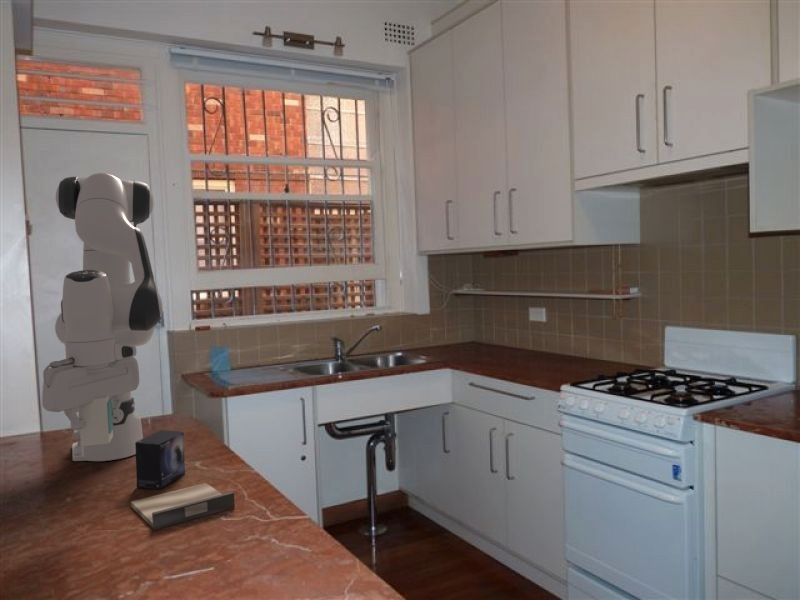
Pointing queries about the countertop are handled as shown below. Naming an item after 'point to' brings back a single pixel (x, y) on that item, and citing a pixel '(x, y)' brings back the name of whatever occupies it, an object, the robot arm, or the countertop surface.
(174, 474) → the small box
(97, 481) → the countertop surface
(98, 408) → the carton
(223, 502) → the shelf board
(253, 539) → the countertop surface
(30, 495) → the countertop surface
